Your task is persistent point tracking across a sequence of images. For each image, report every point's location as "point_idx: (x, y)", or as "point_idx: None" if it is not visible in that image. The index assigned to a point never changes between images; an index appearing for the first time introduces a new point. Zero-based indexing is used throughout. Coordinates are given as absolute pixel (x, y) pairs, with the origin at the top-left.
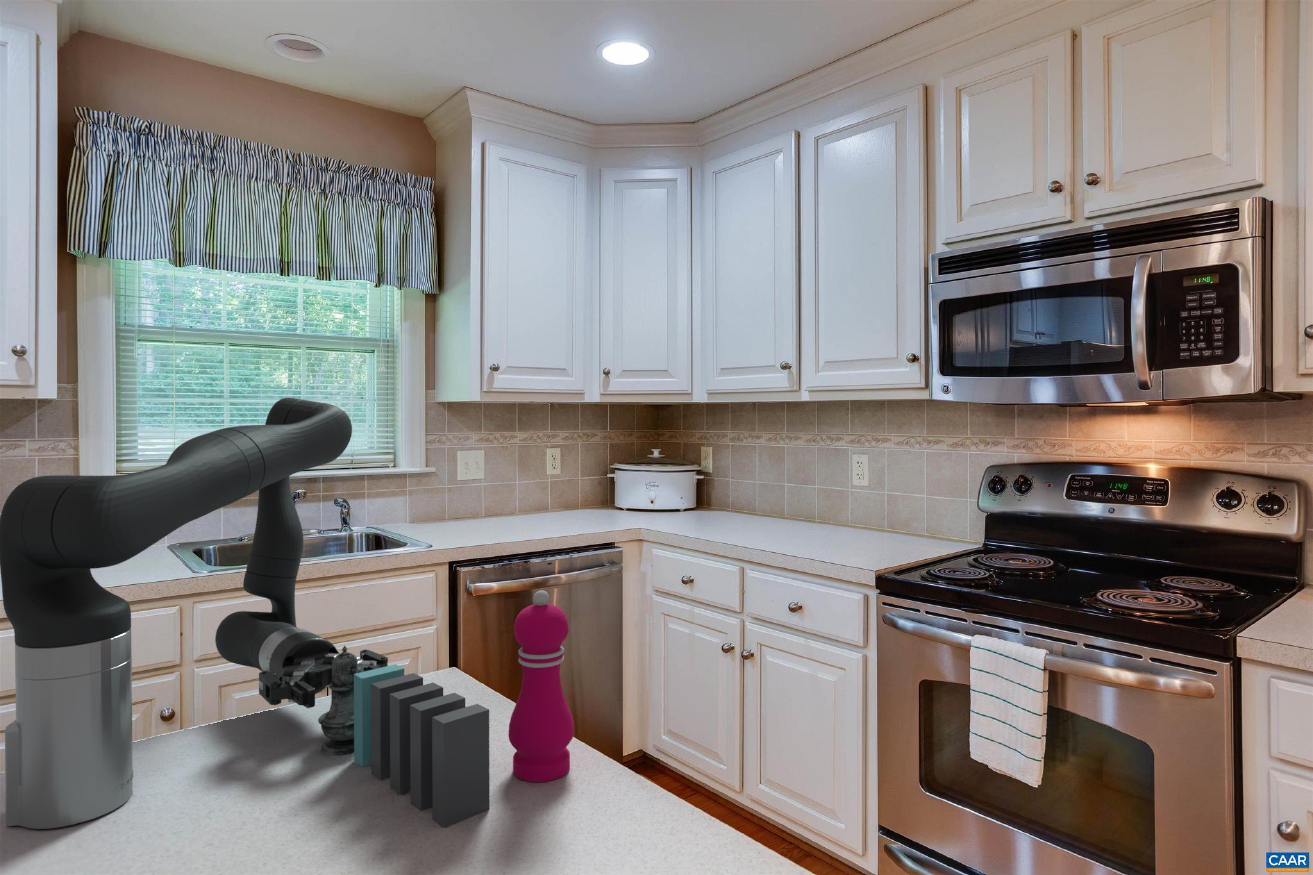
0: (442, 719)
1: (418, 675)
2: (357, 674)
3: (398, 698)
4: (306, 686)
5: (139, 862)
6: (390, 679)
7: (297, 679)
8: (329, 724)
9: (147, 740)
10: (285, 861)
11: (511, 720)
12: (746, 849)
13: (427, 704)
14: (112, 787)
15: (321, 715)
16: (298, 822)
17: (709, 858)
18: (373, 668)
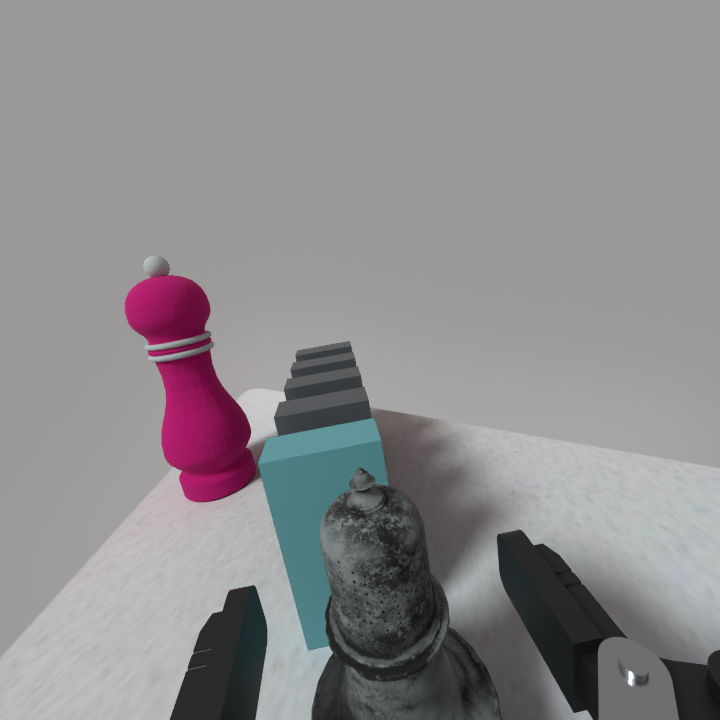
0: (345, 343)
1: (277, 408)
2: (374, 436)
3: (357, 367)
4: (533, 560)
5: (701, 467)
6: (328, 406)
7: (612, 670)
8: (459, 637)
9: None
10: (508, 433)
11: (234, 420)
12: (244, 392)
13: (337, 357)
14: None
15: None
16: (506, 478)
17: (264, 391)
18: (231, 656)
